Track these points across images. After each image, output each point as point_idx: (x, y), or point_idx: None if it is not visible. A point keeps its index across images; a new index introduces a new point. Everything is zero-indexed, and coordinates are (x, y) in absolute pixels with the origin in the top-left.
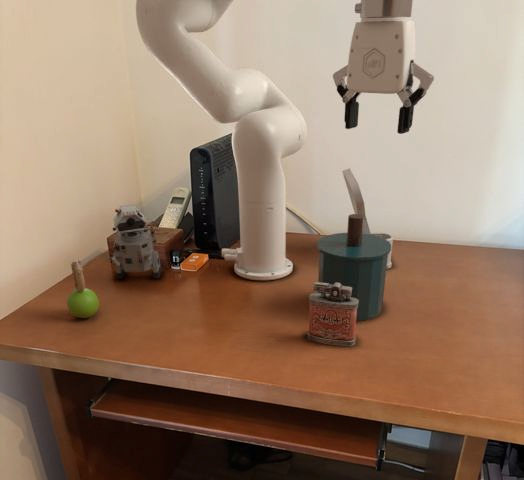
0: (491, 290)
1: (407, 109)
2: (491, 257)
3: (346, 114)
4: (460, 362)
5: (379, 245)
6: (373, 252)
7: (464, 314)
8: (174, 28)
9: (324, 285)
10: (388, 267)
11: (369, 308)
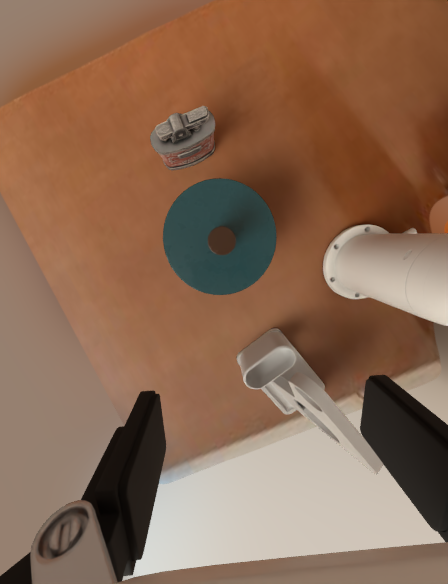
0: (122, 367)
1: (93, 499)
2: None
3: (427, 411)
4: (62, 198)
5: (187, 259)
6: (177, 226)
7: (114, 298)
8: None
9: (190, 111)
10: (237, 355)
11: None
